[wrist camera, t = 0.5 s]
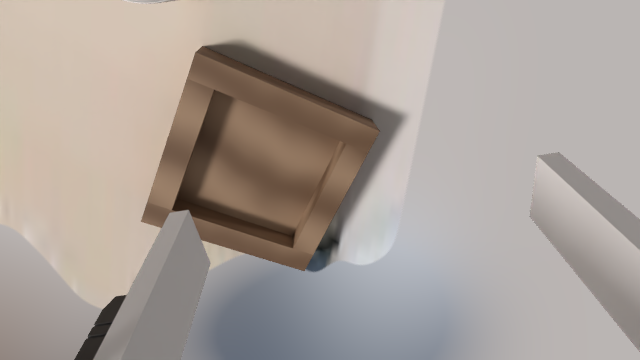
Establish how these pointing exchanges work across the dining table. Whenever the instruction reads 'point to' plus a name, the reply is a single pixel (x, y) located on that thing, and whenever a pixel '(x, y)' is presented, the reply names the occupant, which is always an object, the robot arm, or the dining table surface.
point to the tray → (257, 161)
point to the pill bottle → (148, 1)
